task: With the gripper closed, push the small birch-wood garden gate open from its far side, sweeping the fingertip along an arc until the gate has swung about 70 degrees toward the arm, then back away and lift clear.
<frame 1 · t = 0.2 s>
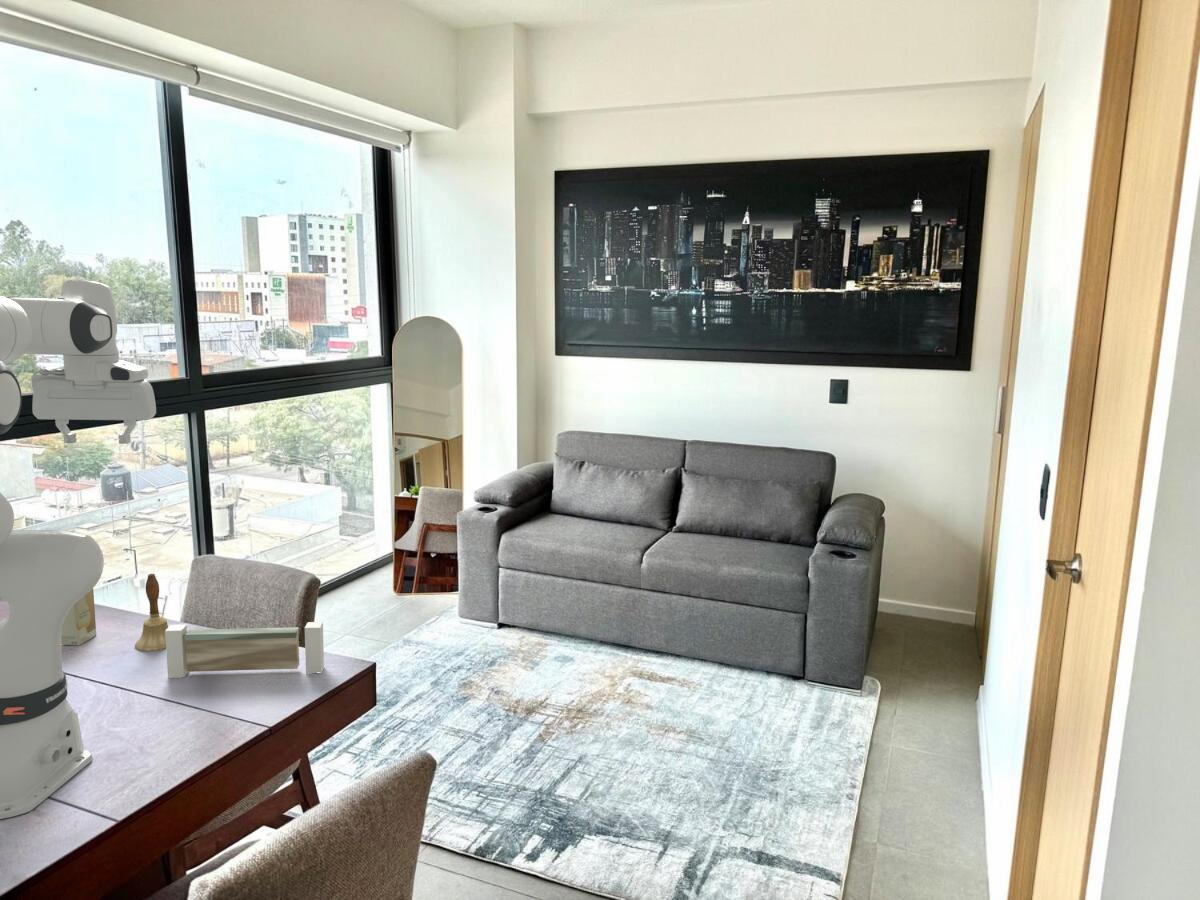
hand: (97, 443, 155), 47 cm above the table, tool pointing down, fingers open, 8 cm apart
skincare box: (79, 640, 181), on the table
gate posts: (246, 672, 168), on the table
hand bell: (156, 644, 180), on the table
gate: (243, 649, 167), point 5 cm above the table, hinge at 0.0°
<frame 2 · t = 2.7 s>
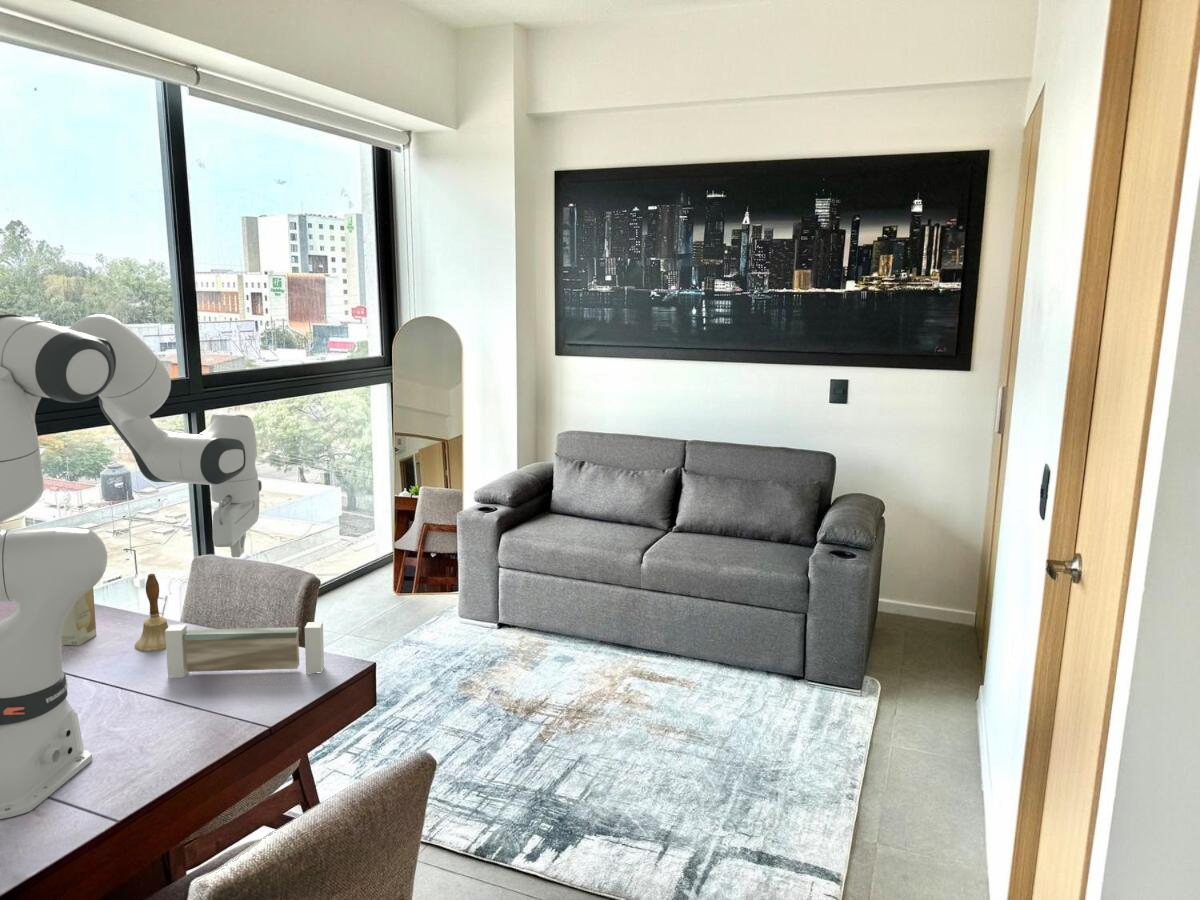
hand: (237, 555, 172), 22 cm above the table, tool pointing down, fingers closed
nothing on the table moved.
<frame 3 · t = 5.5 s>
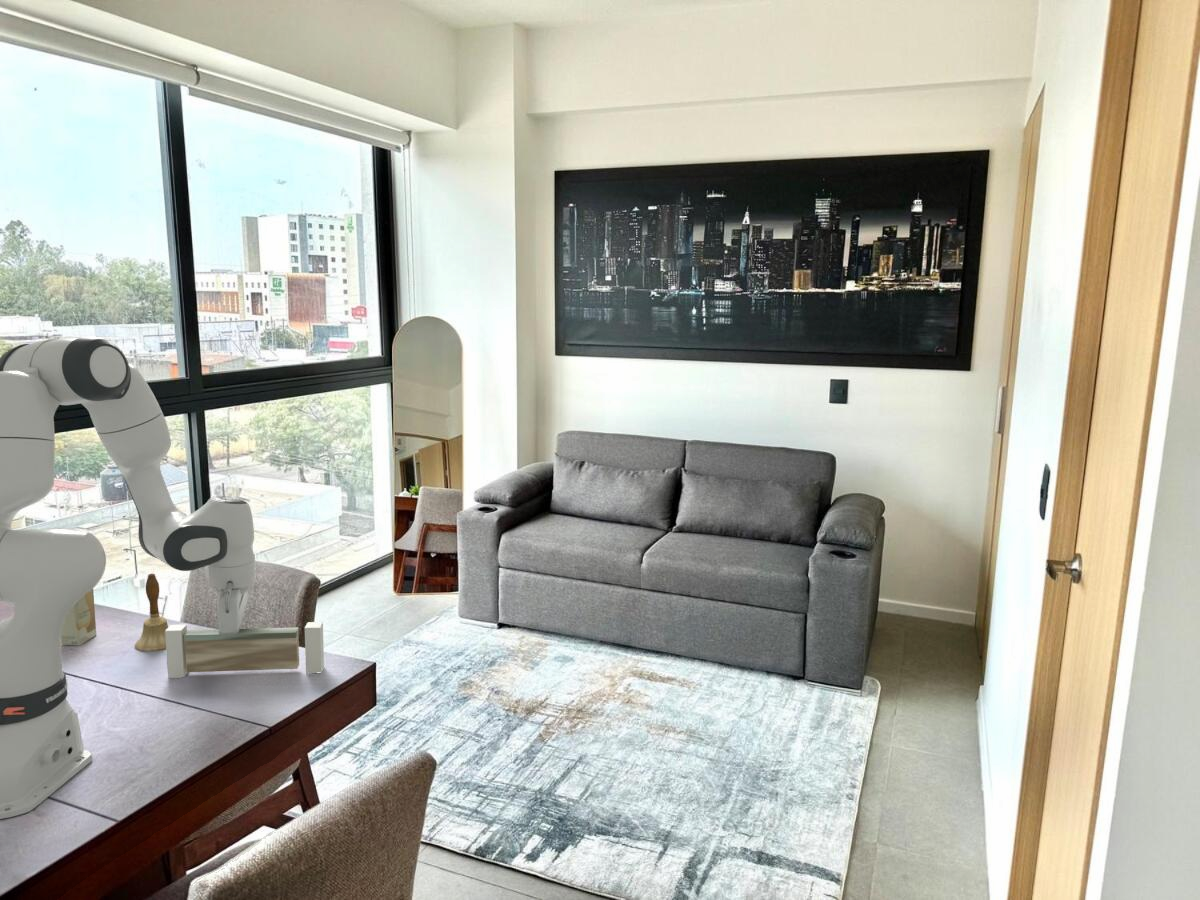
hand: (235, 638, 170), 6 cm above the table, tool pointing down, fingers closed
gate: (243, 649, 167), point 5 cm above the table, hinge at 0.7°, touching gripper
everything else where it was.
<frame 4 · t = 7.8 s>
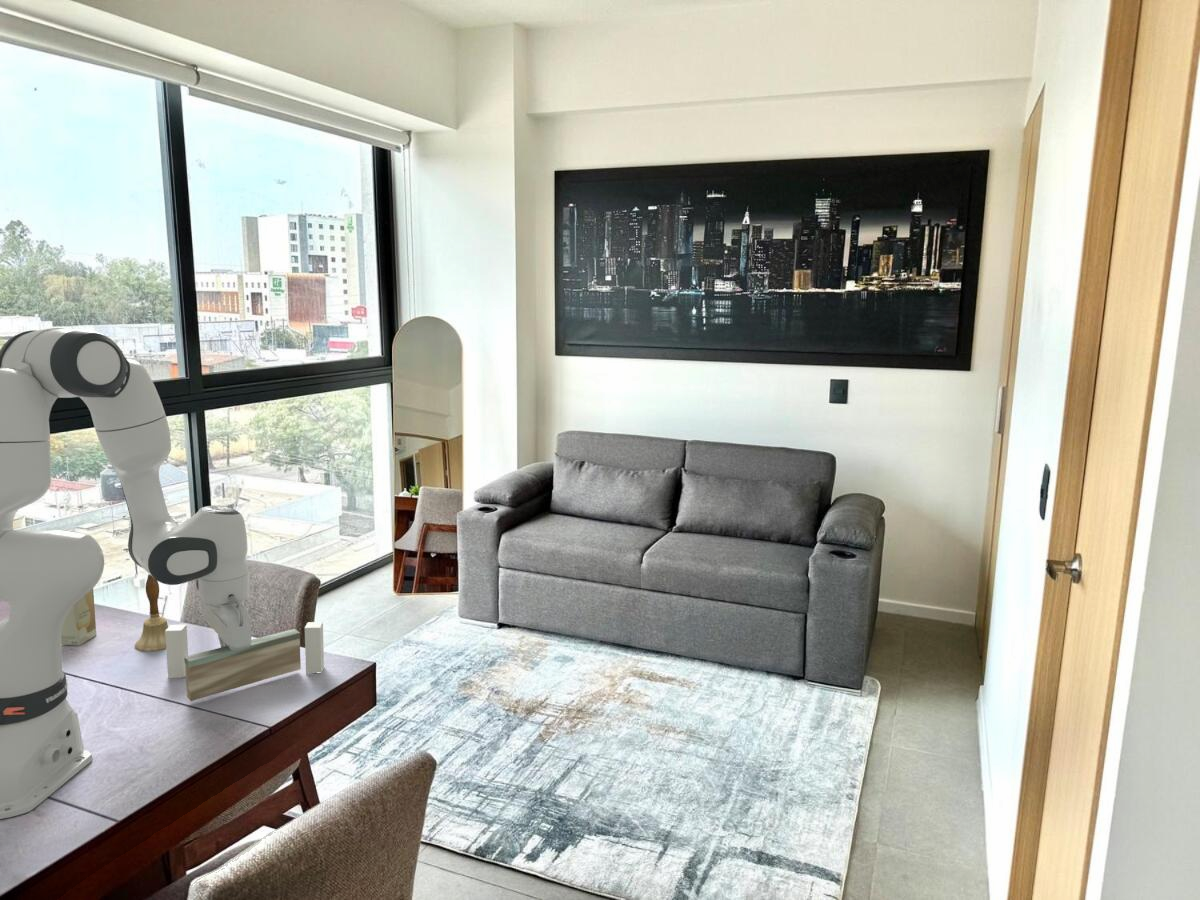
hand: (227, 655, 161), 6 cm above the table, tool pointing down, fingers closed
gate: (245, 663, 161), point 5 cm above the table, hinge at 36.2°, touching gripper
everything else where it was.
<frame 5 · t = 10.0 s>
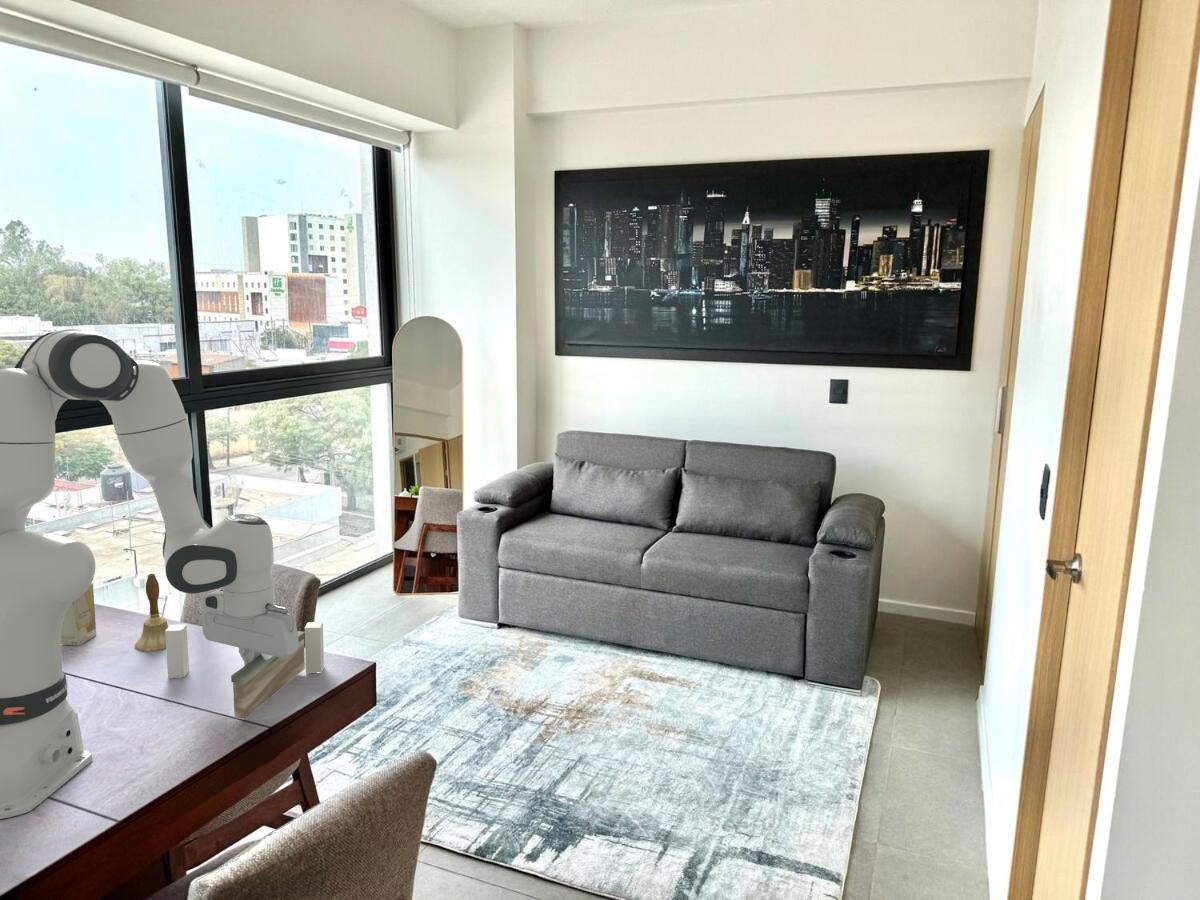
hand: (251, 669, 156), 6 cm above the table, tool pointing down, fingers closed
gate: (271, 672, 158), point 5 cm above the table, hinge at 72.7°, touching gate posts, gripper
everything else where it was.
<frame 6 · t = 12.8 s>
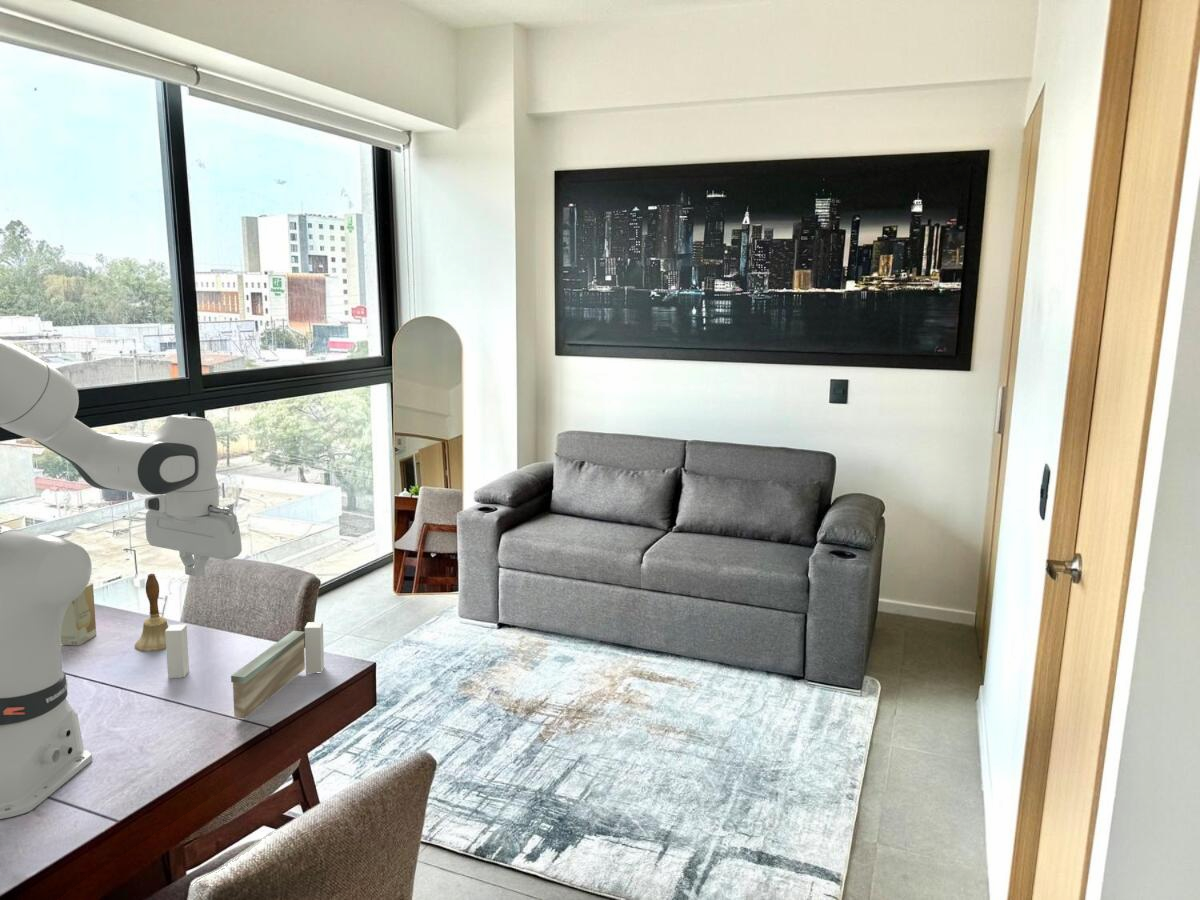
hand: (194, 575, 153), 24 cm above the table, tool pointing down, fingers closed
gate: (271, 672, 158), point 5 cm above the table, hinge at 72.7°, touching gate posts
everything else where it was.
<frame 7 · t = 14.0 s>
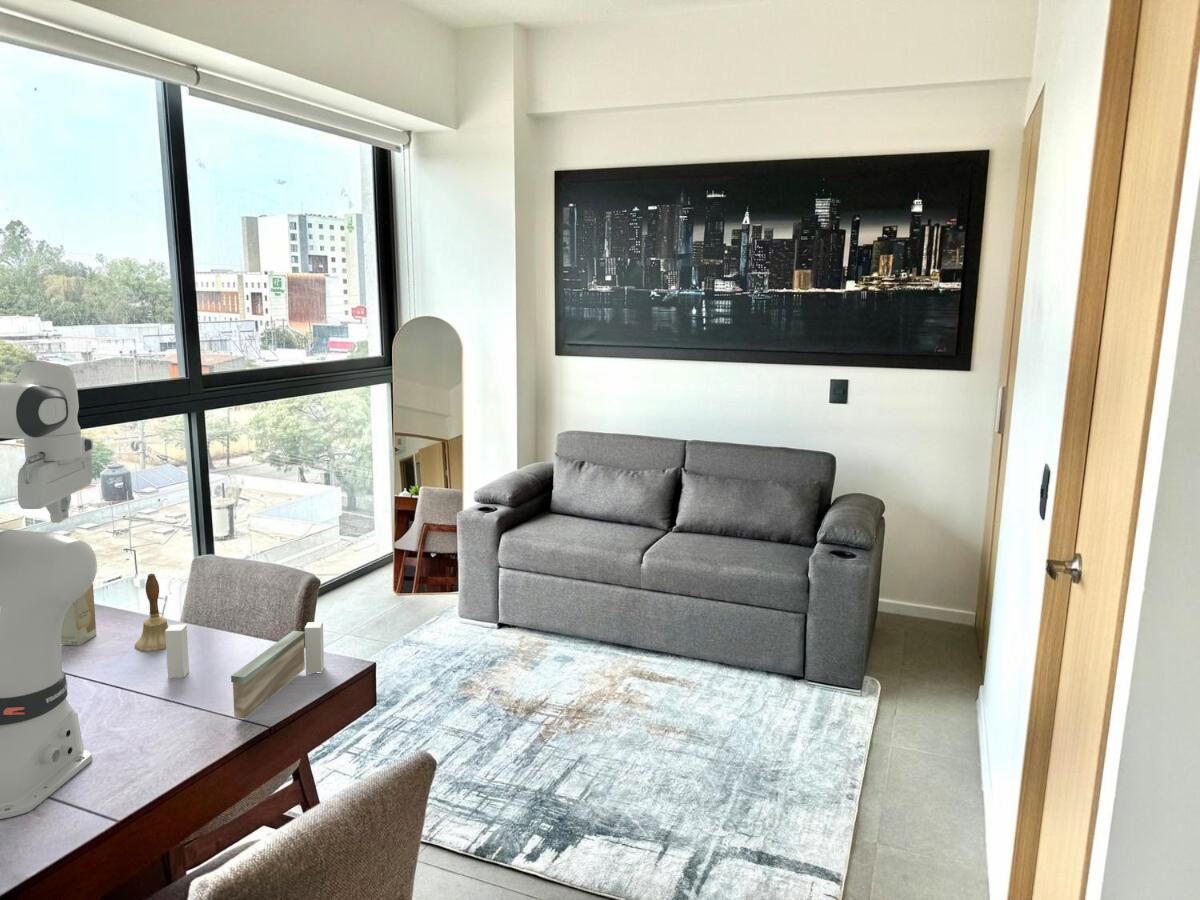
hand: (60, 520, 154), 33 cm above the table, tool pointing down, fingers closed
nothing on the table moved.
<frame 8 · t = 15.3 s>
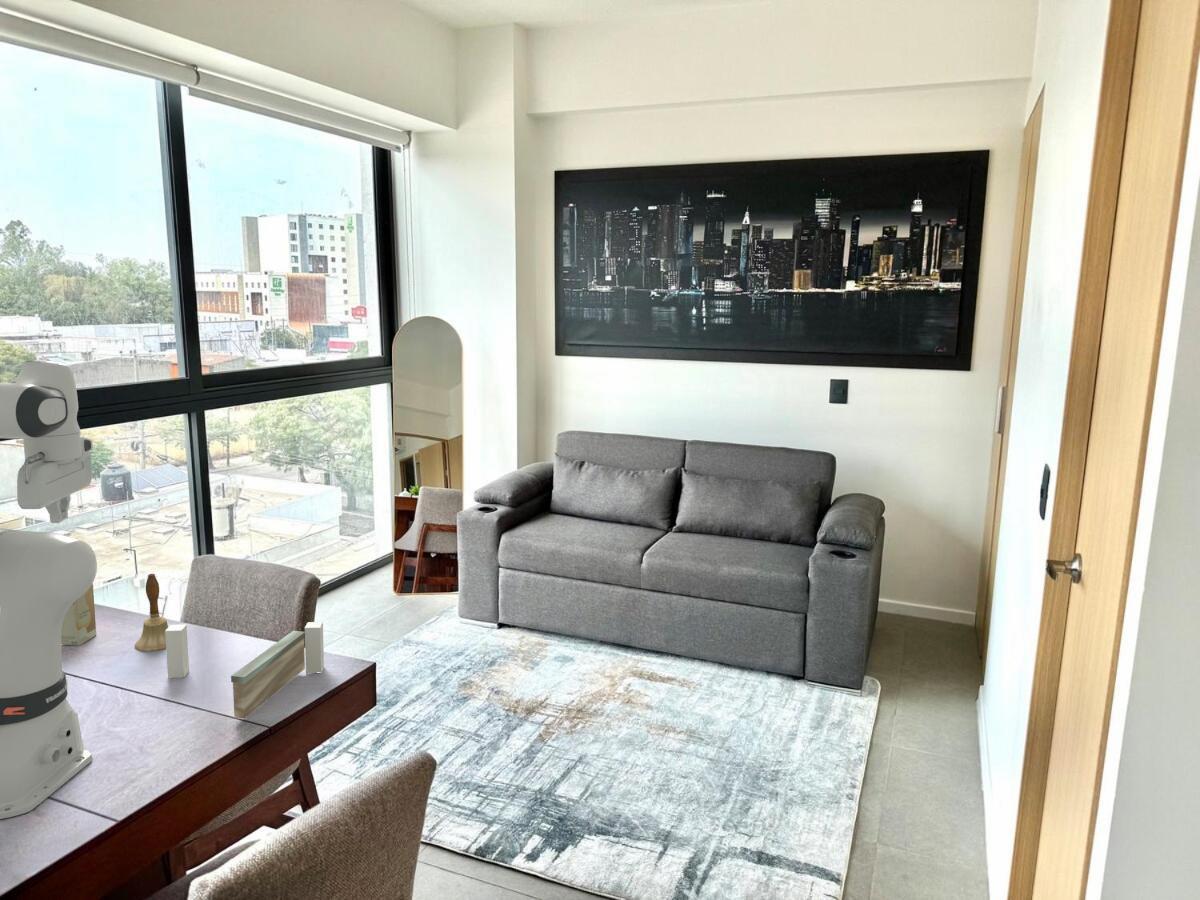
hand: (59, 521, 154), 33 cm above the table, tool pointing down, fingers closed
nothing on the table moved.
at the end: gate at +73° (first picture: +0°); hand bell moved 0.3 cm from its start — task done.
